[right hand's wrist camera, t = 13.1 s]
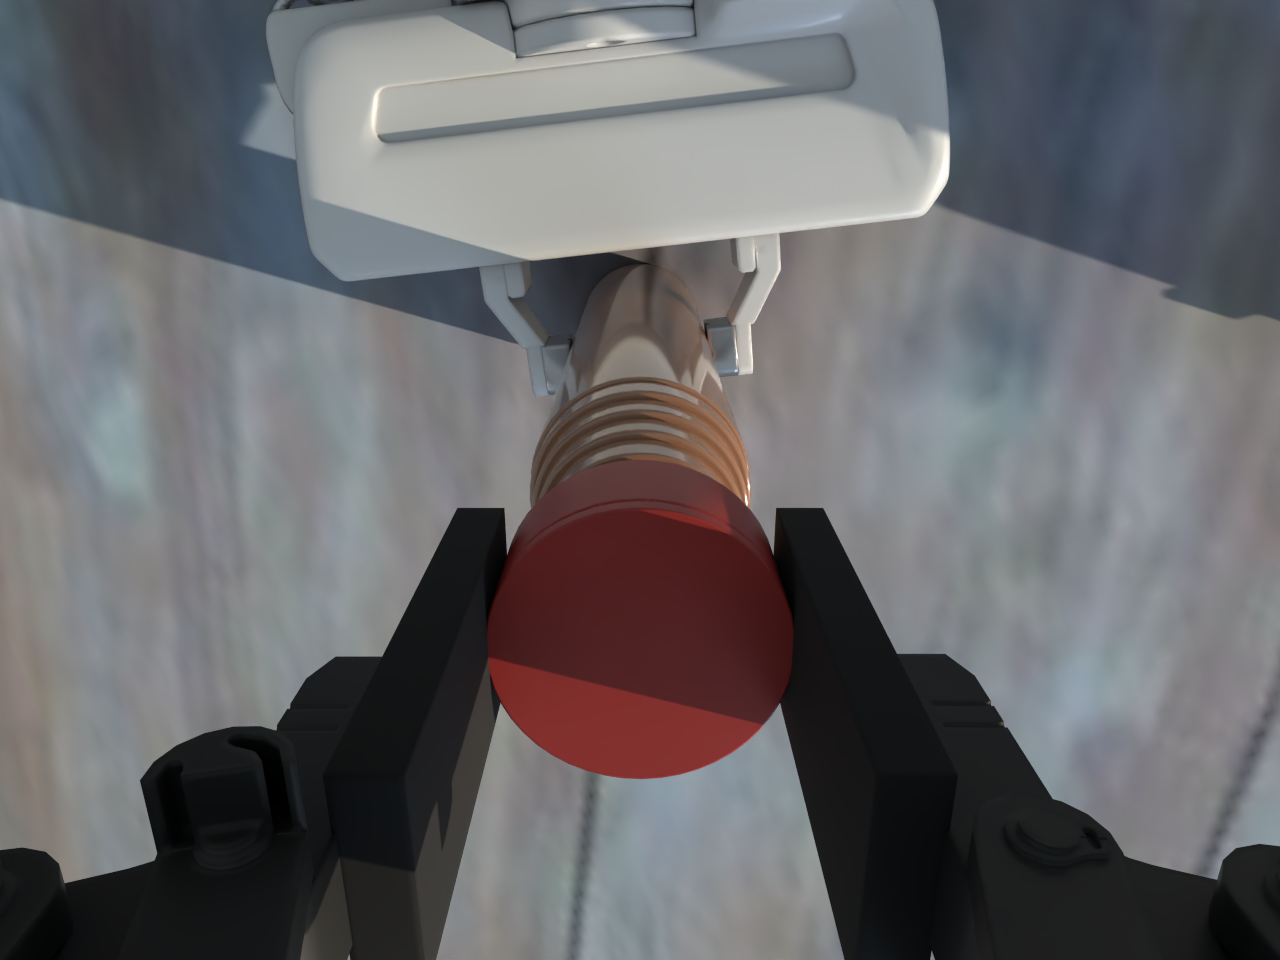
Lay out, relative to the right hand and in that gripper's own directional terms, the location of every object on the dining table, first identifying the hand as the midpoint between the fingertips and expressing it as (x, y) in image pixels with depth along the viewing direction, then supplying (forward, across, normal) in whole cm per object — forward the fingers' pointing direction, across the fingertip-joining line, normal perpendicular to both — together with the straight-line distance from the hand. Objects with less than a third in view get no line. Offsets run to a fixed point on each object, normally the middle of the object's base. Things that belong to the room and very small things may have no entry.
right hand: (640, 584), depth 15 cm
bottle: (+24, 0, 0) cm, 24 cm away
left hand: (+17, 0, -1) cm, 17 cm away
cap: (-2, 0, 0) cm, 2 cm away
